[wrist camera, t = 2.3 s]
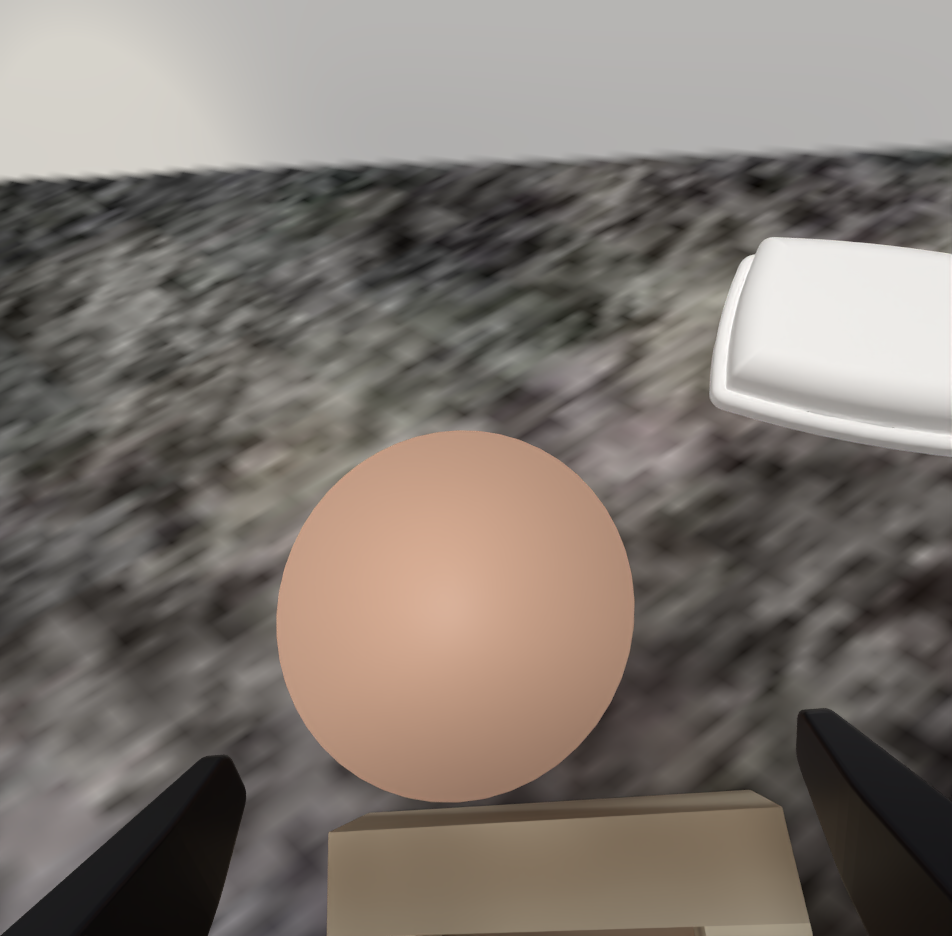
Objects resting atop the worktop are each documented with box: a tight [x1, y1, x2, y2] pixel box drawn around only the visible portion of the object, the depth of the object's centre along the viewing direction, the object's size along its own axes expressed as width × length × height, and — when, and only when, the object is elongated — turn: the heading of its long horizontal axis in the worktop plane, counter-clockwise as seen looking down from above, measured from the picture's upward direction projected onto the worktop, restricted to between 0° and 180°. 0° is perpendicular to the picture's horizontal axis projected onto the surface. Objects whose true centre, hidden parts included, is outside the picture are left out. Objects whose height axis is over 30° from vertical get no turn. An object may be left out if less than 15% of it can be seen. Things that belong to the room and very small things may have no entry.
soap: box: [709, 237, 952, 457], centre depth 19 cm, size 9×7×3 cm
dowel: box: [277, 430, 634, 802], centre depth 13 cm, size 4×4×12 cm
